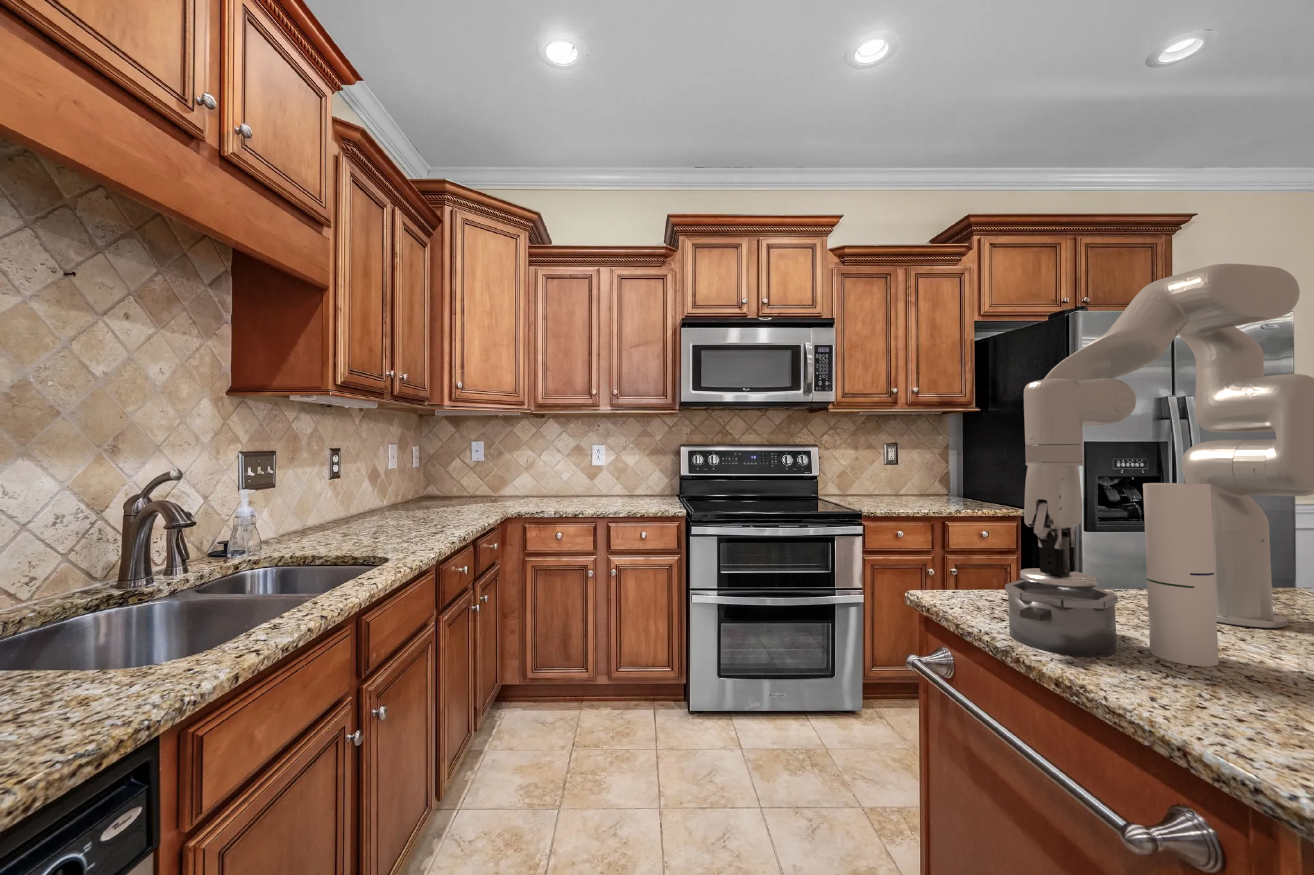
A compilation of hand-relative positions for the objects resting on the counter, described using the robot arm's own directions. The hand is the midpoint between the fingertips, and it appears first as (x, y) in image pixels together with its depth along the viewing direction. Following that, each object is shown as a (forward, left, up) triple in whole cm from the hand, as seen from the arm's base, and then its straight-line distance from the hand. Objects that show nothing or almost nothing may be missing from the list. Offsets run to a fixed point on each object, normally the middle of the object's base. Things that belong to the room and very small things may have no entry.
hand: (1057, 571), depth 87 cm
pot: (0, 0, -11) cm, 11 cm away
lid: (0, 0, -2) cm, 2 cm away
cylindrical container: (-6, +13, -11) cm, 18 cm away
